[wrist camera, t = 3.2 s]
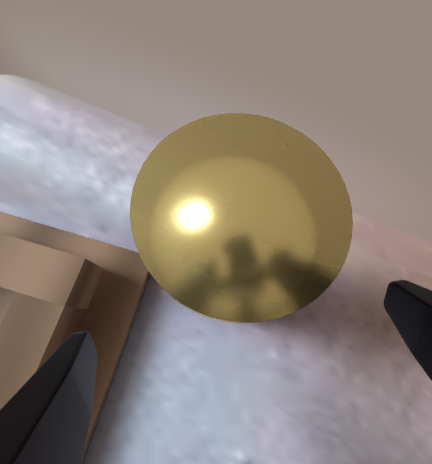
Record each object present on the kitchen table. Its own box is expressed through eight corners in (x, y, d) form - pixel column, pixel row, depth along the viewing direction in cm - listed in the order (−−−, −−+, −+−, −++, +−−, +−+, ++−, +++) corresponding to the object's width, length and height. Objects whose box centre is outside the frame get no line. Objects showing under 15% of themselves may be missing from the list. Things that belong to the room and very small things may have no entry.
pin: (266, 250, 19) (364, 144, 8) (246, 334, 18) (334, 354, 6) (187, 227, 19) (172, 91, 8) (160, 308, 18) (93, 281, 6)
